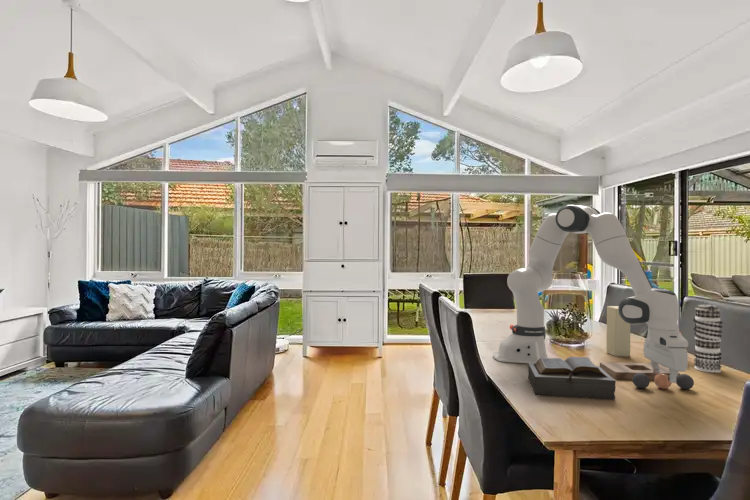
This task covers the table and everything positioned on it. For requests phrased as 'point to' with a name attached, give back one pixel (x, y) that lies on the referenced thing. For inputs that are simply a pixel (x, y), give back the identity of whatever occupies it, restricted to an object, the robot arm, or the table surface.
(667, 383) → the terracotta ball
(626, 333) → the toy refrigerator
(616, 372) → the walnut board
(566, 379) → the bible
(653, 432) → the table surface
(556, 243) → the robot arm
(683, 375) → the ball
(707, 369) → the black white tall cylinder
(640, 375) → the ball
